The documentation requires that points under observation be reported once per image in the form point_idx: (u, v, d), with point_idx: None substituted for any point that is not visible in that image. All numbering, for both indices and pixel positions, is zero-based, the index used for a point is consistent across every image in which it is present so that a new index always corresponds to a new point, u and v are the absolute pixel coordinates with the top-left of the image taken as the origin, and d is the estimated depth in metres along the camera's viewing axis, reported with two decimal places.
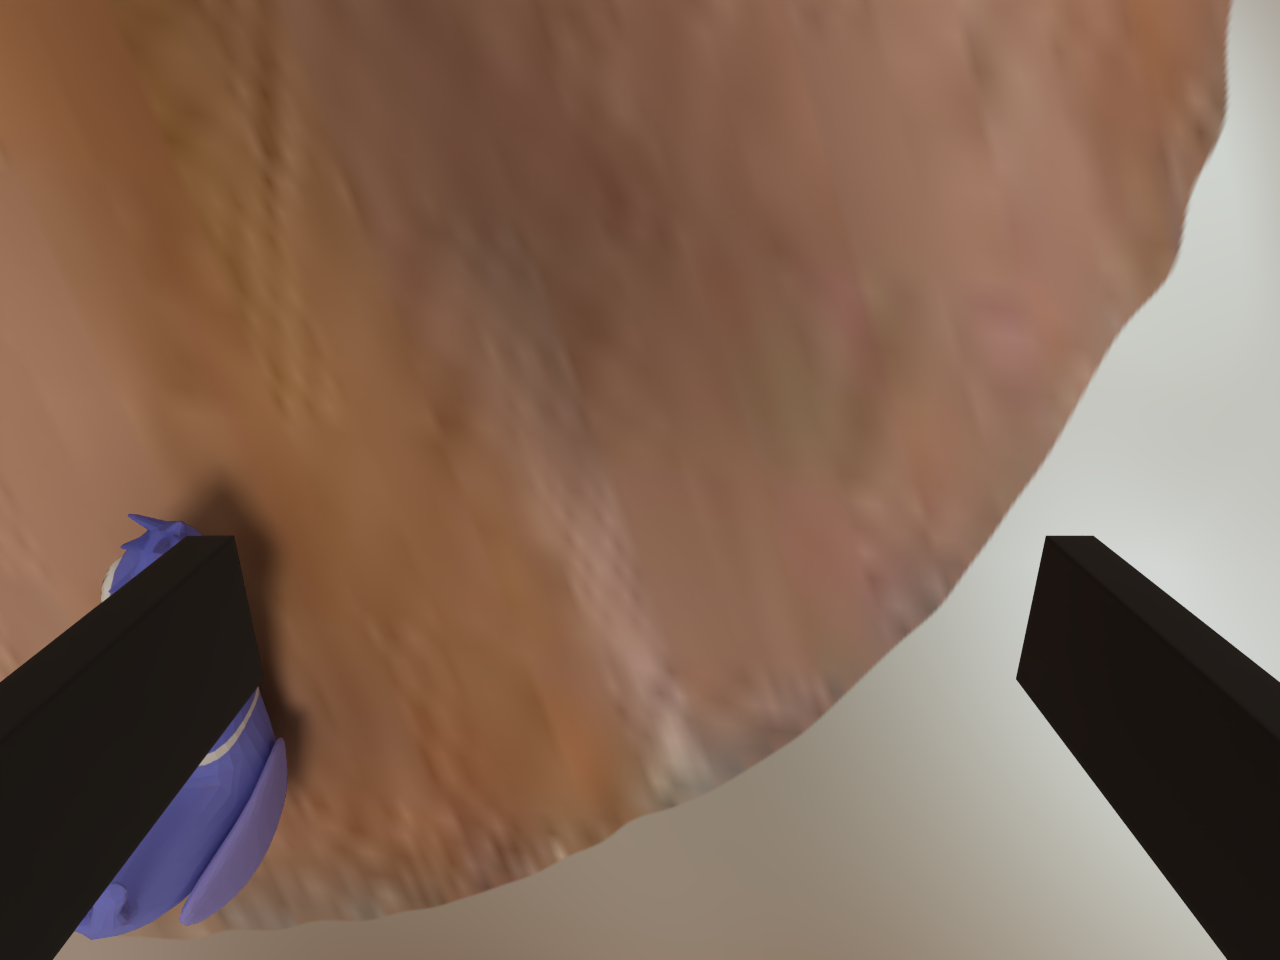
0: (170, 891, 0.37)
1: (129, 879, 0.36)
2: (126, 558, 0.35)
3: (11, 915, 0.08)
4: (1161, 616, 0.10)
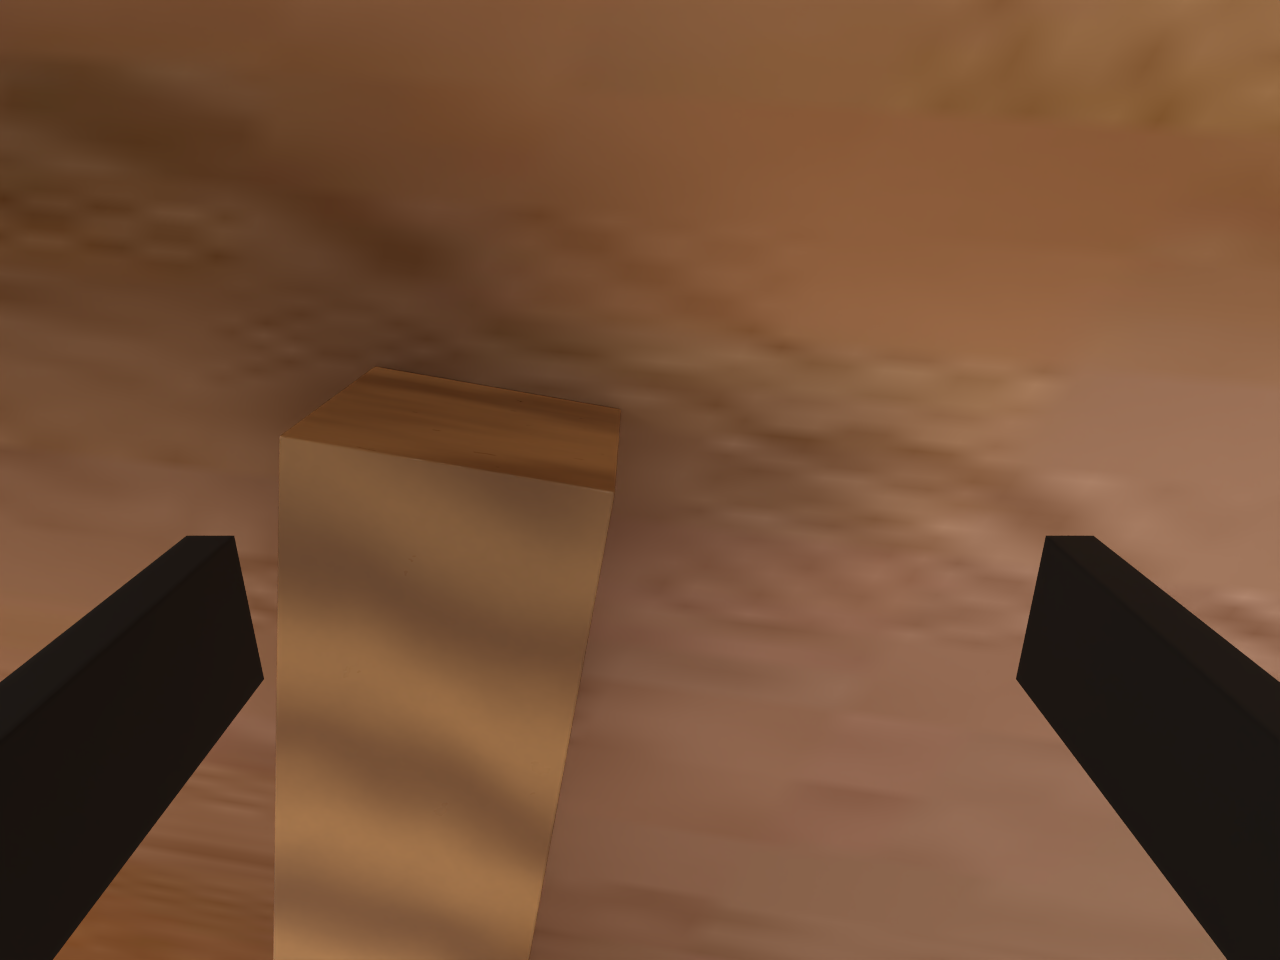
0: None
1: None
2: None
3: (11, 915, 0.08)
4: (1161, 616, 0.10)
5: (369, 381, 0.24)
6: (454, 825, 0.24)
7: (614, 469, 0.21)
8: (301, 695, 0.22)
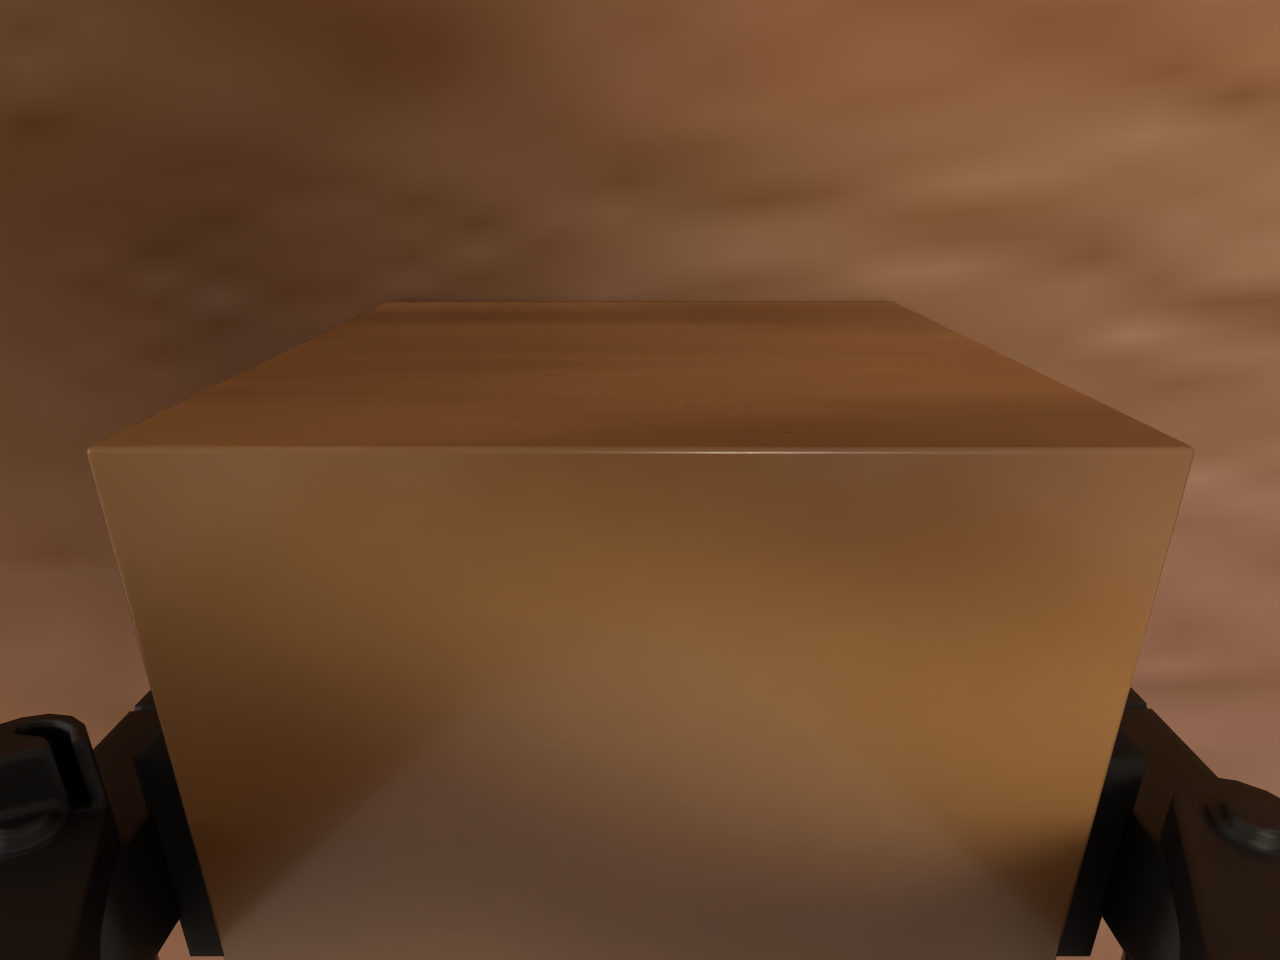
0: None
1: None
2: None
3: None
4: None
5: (375, 319, 0.11)
6: None
7: (1079, 393, 0.07)
8: None
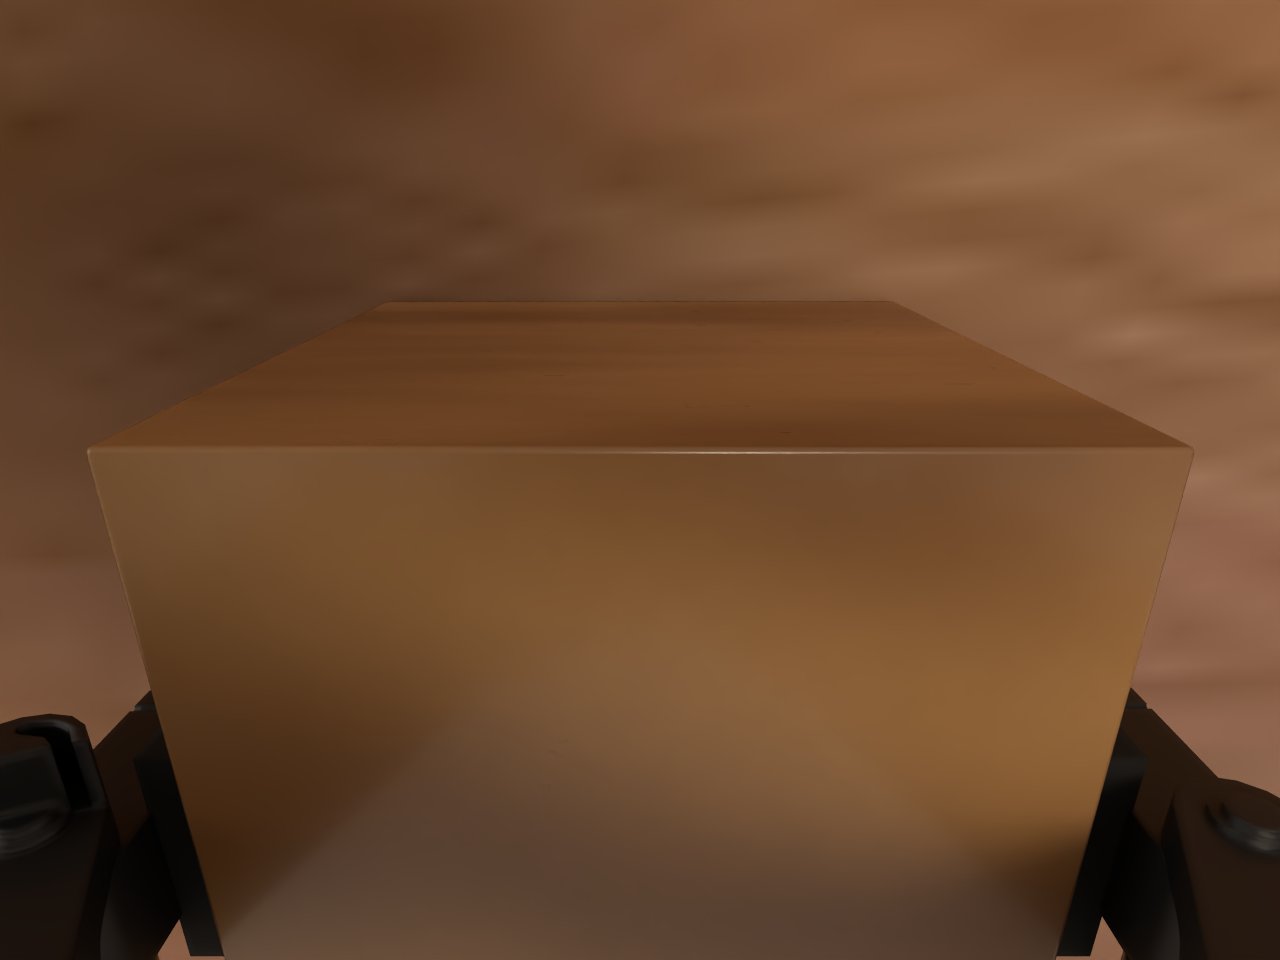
0: None
1: None
2: None
3: None
4: None
5: (375, 319, 0.11)
6: None
7: (1079, 393, 0.07)
8: None
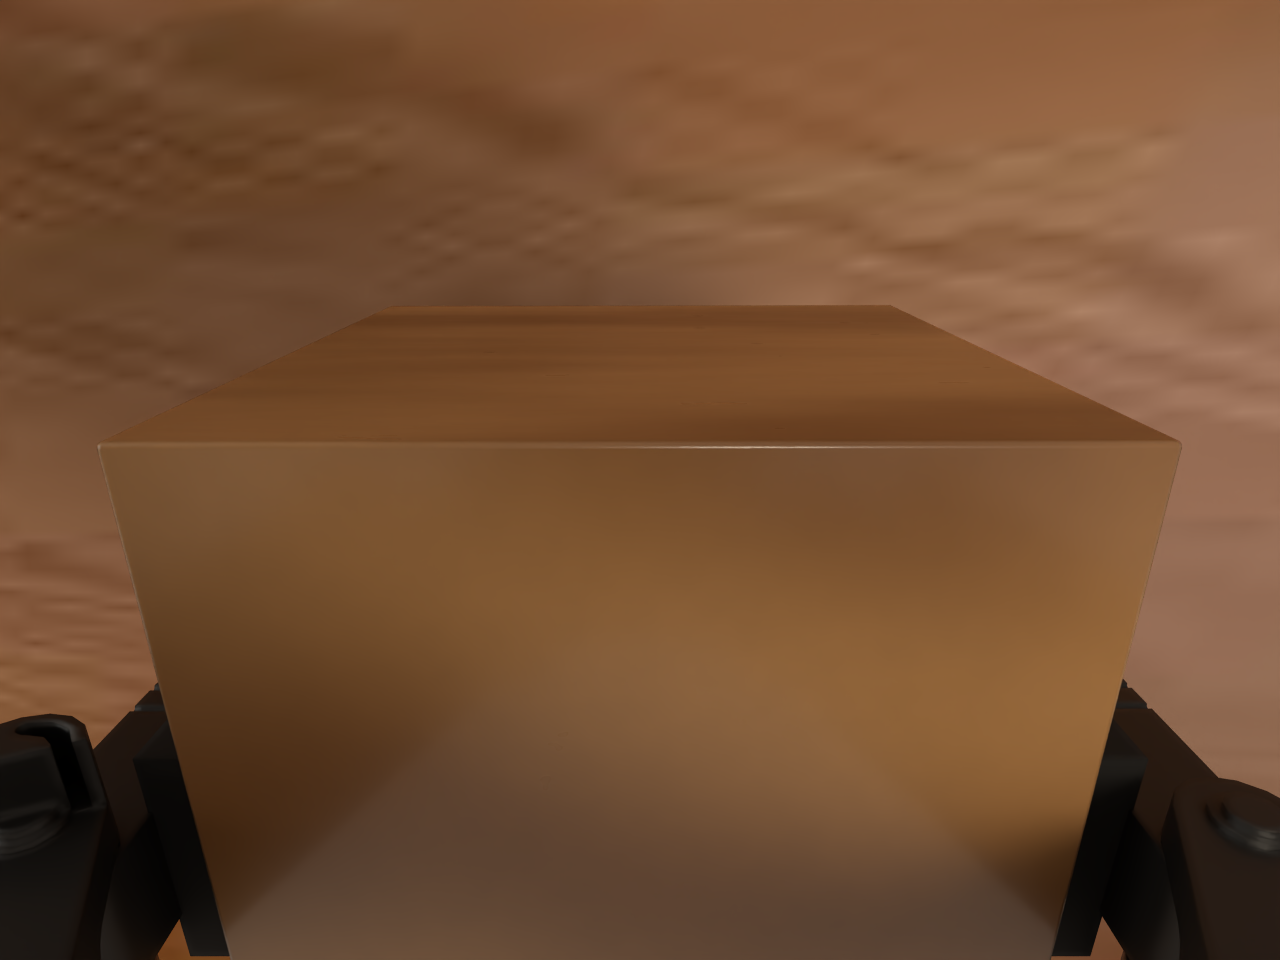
0: None
1: None
2: None
3: None
4: None
5: (379, 323, 0.11)
6: None
7: (1071, 391, 0.07)
8: None
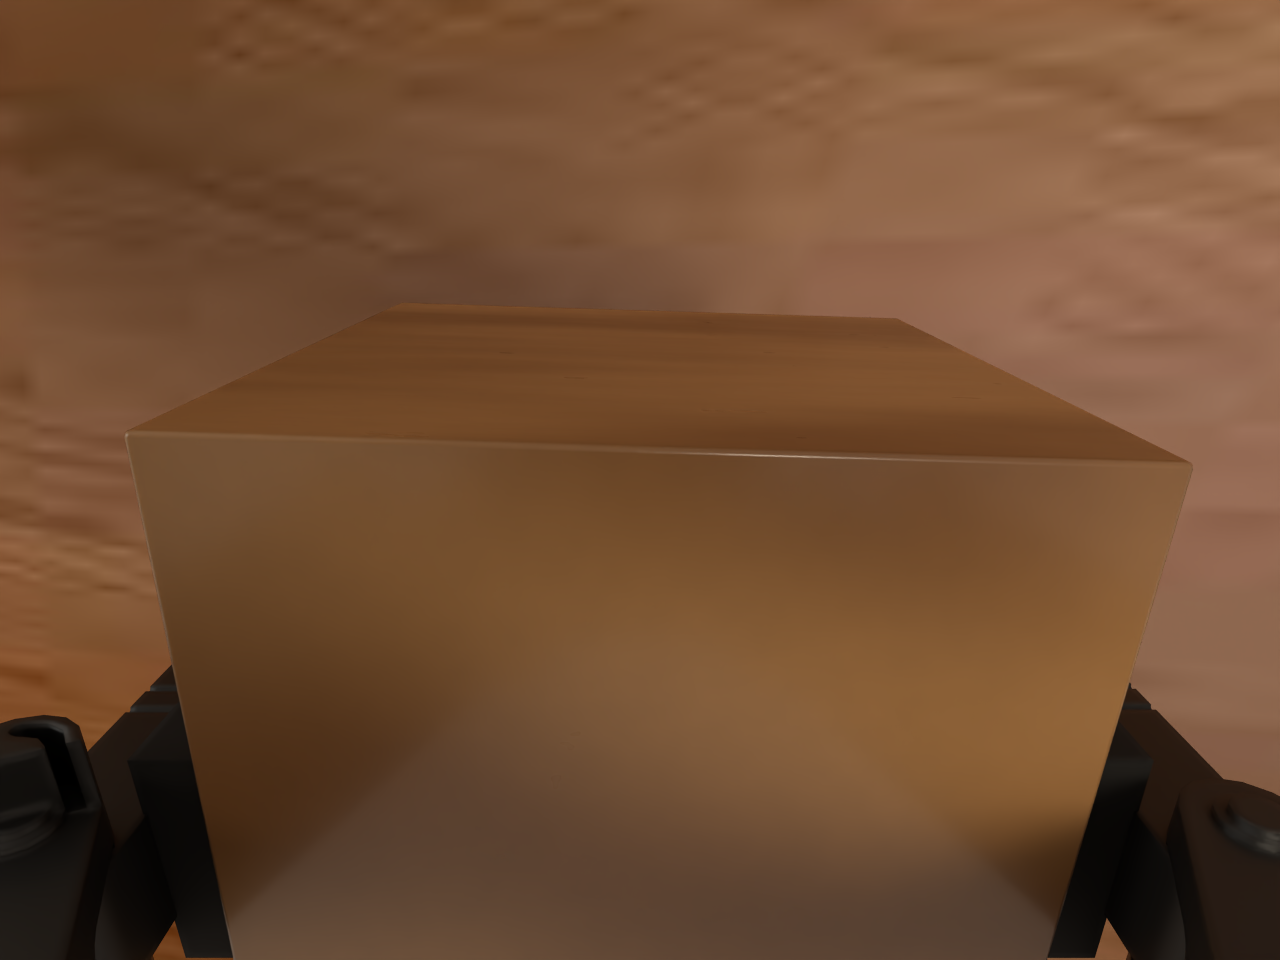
0: None
1: None
2: None
3: None
4: None
5: (392, 319, 0.11)
6: None
7: (1081, 409, 0.08)
8: None
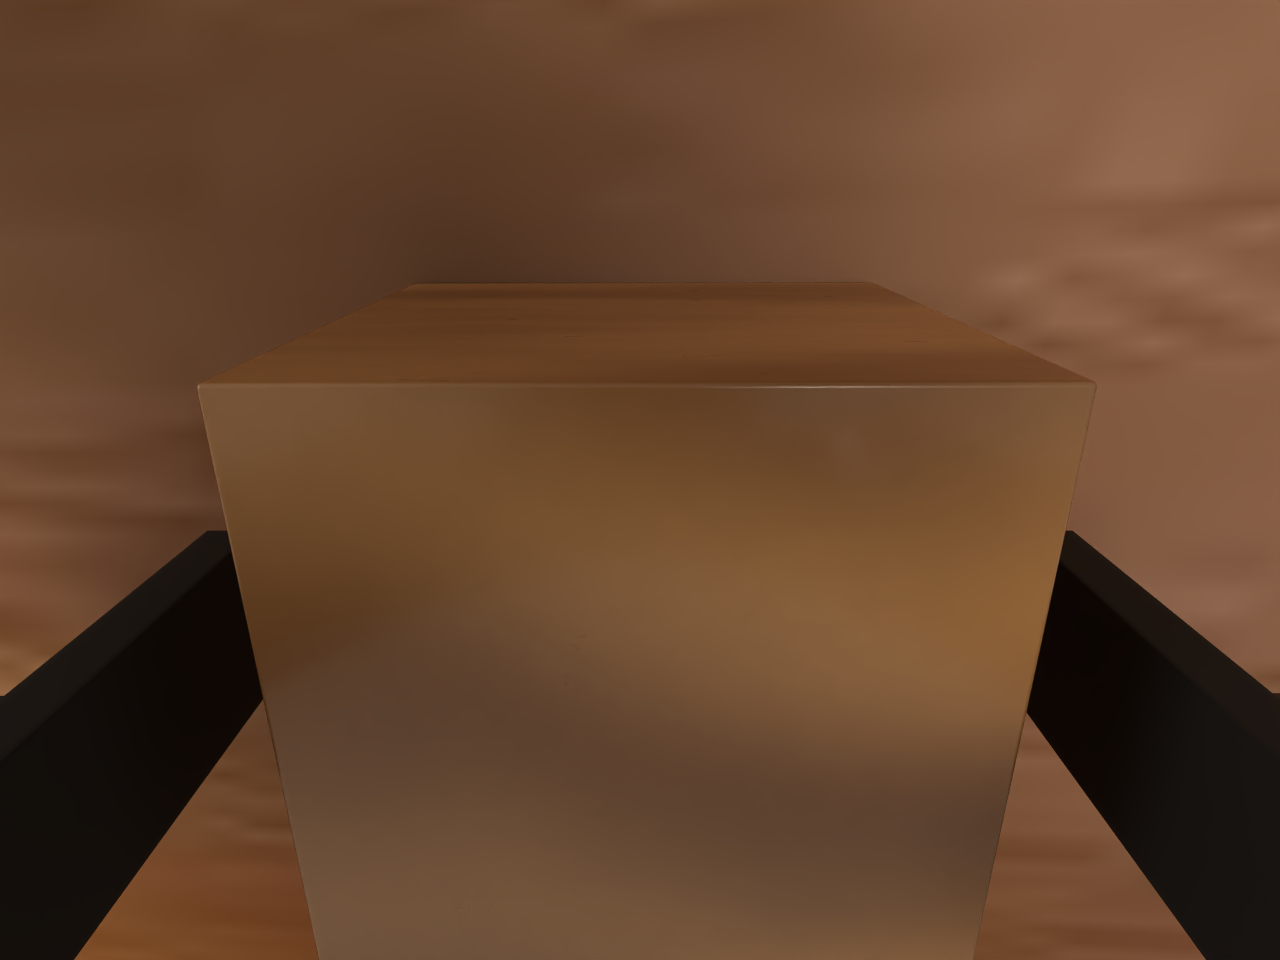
0: None
1: None
2: None
3: (47, 899, 0.08)
4: (1134, 608, 0.10)
5: (408, 297, 0.12)
6: None
7: (1016, 347, 0.09)
8: None
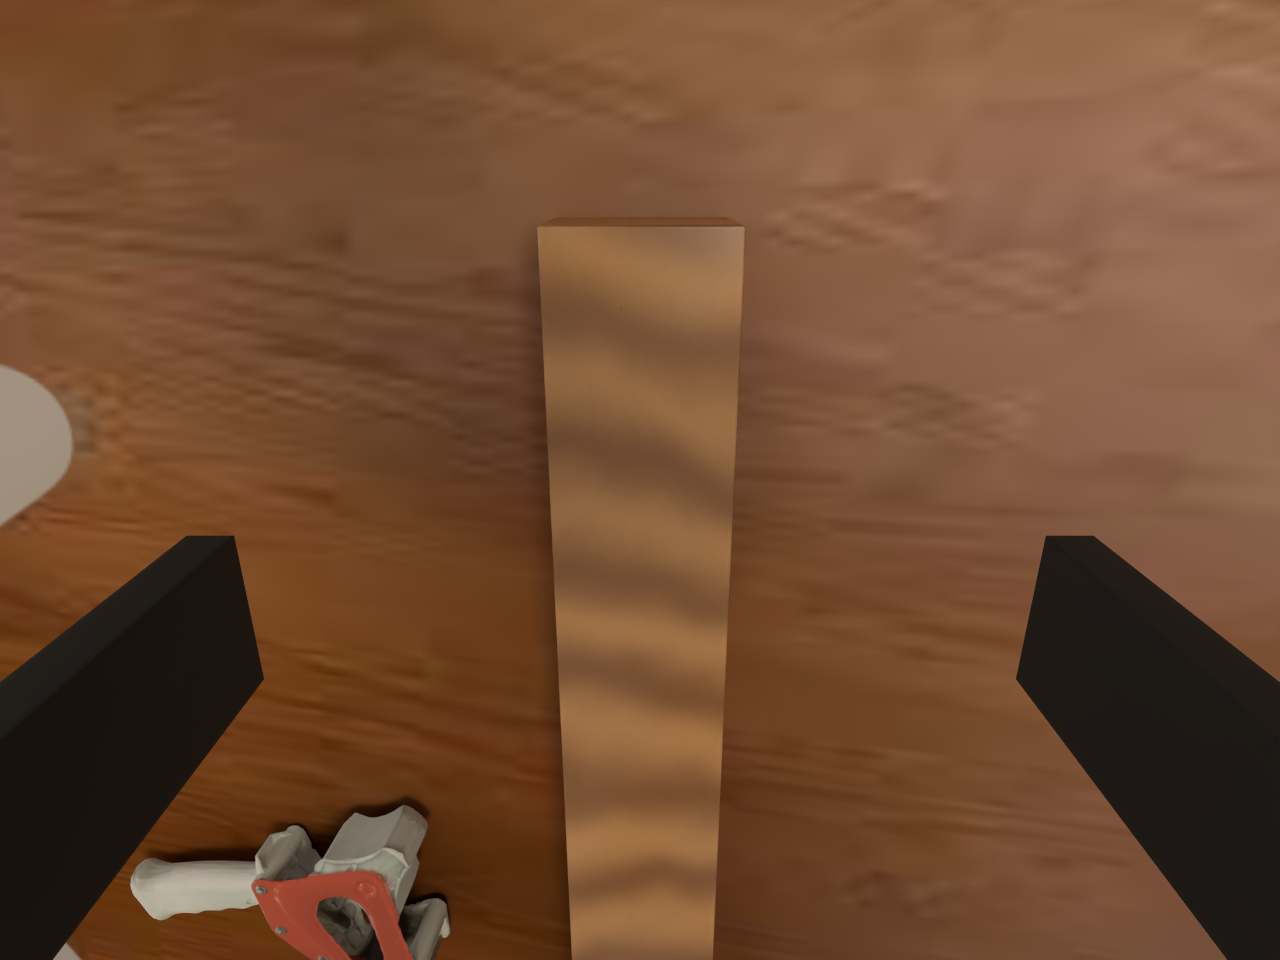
0: None
1: None
2: None
3: (11, 915, 0.08)
4: (1161, 616, 0.10)
5: (560, 219, 0.36)
6: (668, 495, 0.35)
7: (739, 224, 0.33)
8: (562, 411, 0.34)
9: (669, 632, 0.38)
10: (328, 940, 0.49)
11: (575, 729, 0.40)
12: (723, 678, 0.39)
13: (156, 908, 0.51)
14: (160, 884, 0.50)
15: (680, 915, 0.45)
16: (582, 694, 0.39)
